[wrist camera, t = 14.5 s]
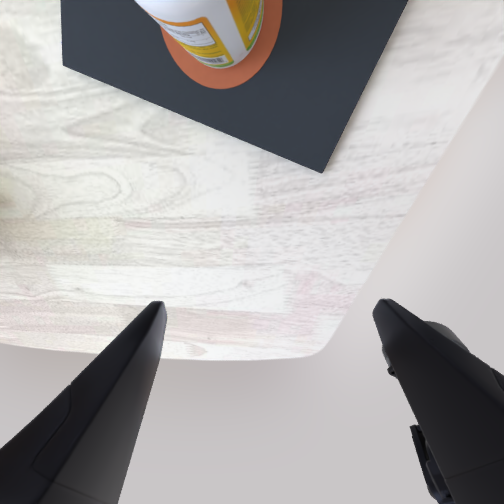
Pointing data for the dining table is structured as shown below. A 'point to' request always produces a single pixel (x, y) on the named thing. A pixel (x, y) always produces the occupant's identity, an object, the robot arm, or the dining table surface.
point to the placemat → (243, 68)
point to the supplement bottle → (210, 27)
